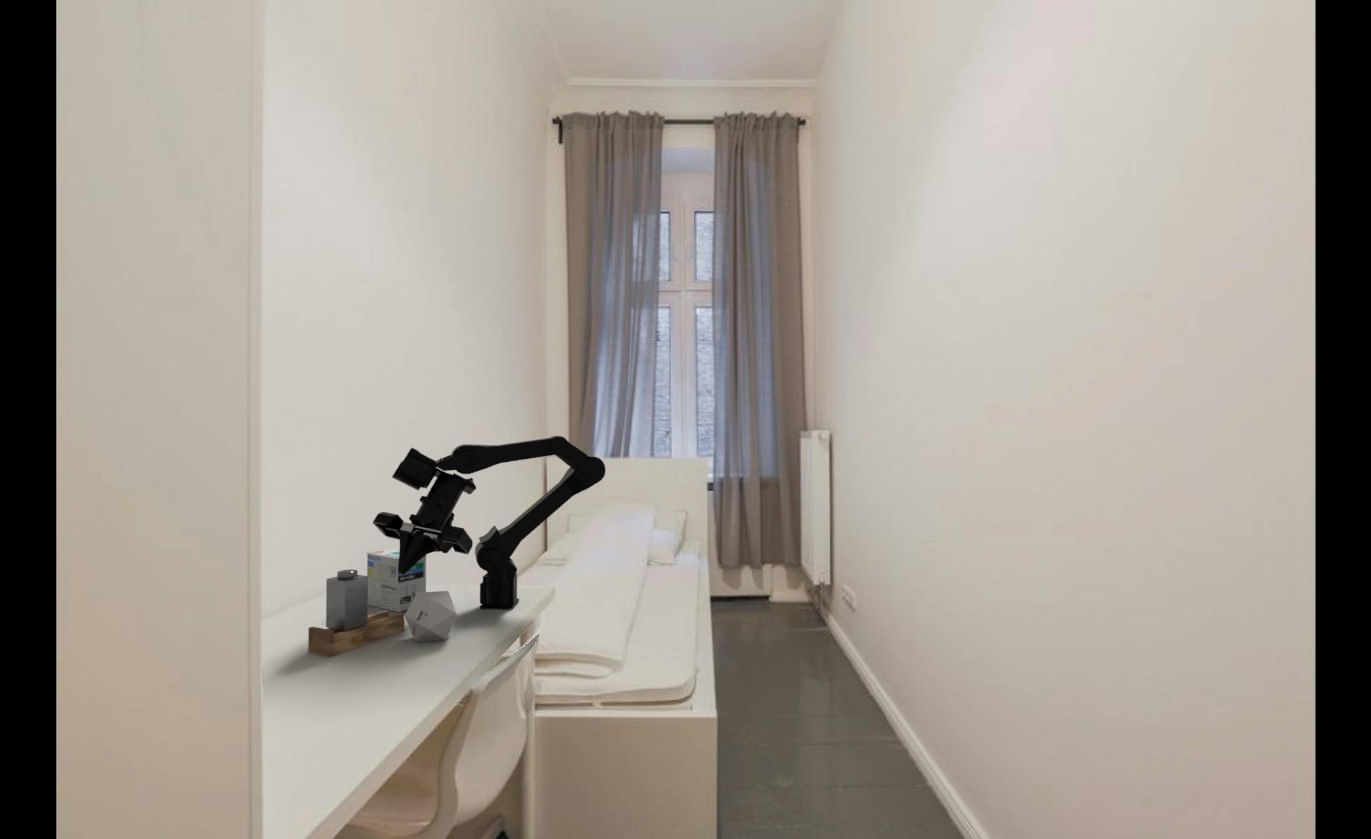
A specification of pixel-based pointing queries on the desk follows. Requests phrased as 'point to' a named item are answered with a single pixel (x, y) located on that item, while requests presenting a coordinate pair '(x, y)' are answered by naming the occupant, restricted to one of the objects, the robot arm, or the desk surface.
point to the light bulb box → (393, 580)
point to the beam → (354, 634)
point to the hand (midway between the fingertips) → (400, 573)
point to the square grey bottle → (346, 601)
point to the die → (431, 616)
